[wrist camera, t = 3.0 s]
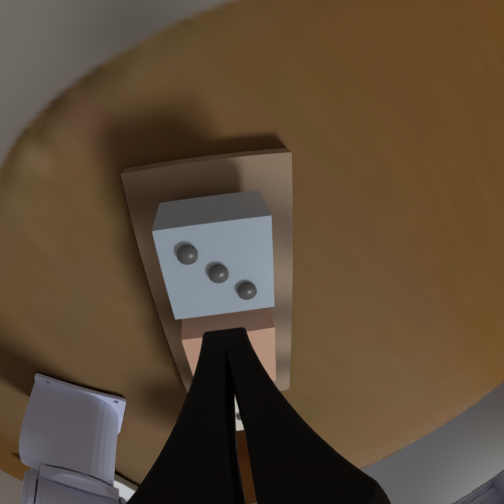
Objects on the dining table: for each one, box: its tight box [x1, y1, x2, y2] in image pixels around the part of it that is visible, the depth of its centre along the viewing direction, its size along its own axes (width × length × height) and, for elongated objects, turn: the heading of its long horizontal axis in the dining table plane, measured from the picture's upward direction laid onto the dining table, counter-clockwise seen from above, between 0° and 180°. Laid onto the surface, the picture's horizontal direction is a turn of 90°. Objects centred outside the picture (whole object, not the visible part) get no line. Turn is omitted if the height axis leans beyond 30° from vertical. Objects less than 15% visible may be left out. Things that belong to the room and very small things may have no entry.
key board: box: [121, 148, 293, 393], centre depth 21 cm, size 21×9×3 cm, turn 4°
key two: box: [181, 307, 276, 381], centre depth 19 cm, size 5×5×3 cm
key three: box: [152, 190, 274, 320], centre depth 16 cm, size 5×5×3 cm
